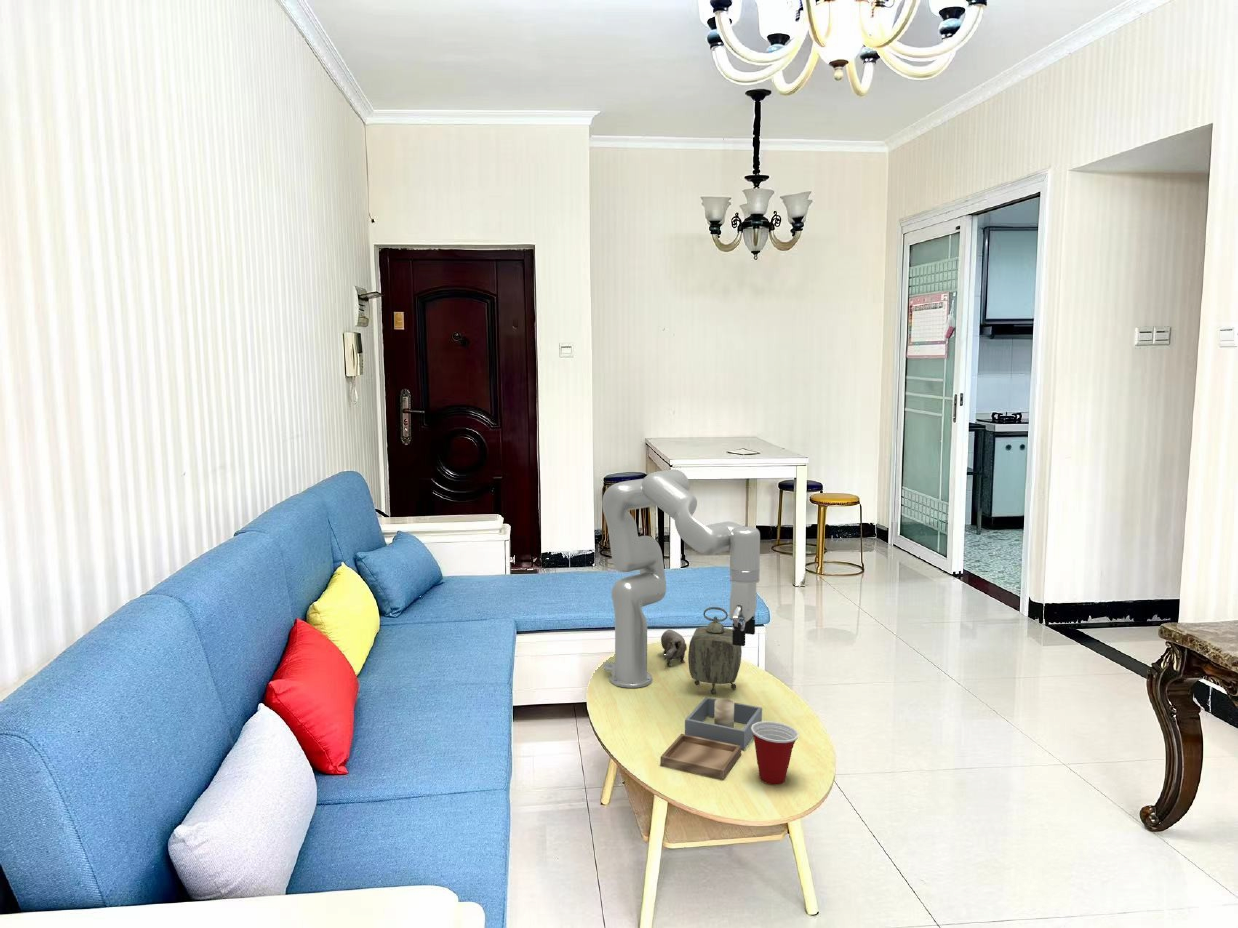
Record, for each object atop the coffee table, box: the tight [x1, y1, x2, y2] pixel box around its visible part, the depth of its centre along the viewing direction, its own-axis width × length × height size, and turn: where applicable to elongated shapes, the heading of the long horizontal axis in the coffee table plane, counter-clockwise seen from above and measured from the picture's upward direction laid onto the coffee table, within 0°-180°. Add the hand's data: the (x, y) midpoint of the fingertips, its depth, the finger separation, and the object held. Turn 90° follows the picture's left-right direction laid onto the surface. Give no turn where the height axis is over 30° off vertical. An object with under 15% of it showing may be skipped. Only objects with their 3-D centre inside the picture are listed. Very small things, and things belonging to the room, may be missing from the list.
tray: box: [659, 733, 742, 781], centre depth 205 cm, size 16×14×2 cm
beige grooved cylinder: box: [713, 698, 735, 728], centre depth 220 cm, size 5×5×8 cm
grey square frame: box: [684, 697, 763, 752], centre depth 220 cm, size 16×16×5 cm
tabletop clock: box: [687, 606, 742, 695], centre depth 245 cm, size 14×9×25 cm, turn 76°
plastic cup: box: [751, 720, 800, 786], centre depth 196 cm, size 11×11×12 cm
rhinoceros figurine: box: [660, 629, 688, 668], centre depth 270 cm, size 8×14×15 cm
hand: (743, 639), depth 221 cm, fingers open, 9 cm apart
